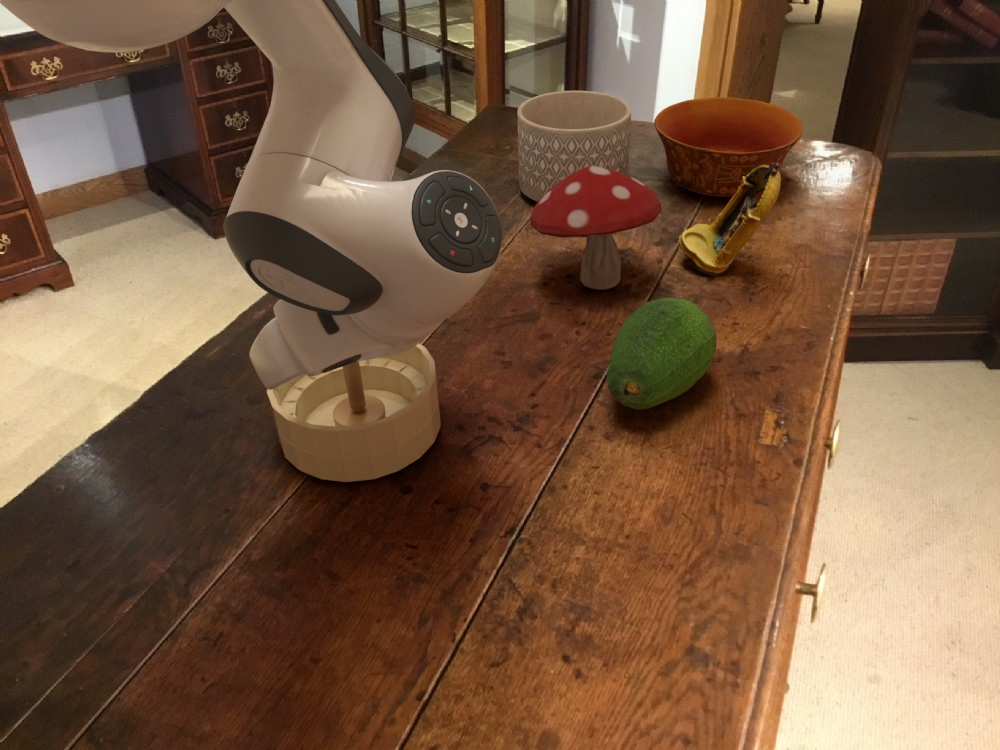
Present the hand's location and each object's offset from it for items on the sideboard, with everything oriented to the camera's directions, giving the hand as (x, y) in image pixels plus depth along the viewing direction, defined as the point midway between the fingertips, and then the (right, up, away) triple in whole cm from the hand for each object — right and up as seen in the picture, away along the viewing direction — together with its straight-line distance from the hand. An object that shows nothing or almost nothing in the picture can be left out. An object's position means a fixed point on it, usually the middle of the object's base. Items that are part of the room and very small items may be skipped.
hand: (343, 345), depth 81 cm
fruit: (+31, -5, +9) cm, 33 cm away
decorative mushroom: (+27, +9, +28) cm, 40 cm away
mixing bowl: (+1, -8, +6) cm, 10 cm away
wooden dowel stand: (+1, -8, +6) cm, 10 cm away
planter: (+26, +25, +49) cm, 61 cm away
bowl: (+49, +26, +49) cm, 74 cm away
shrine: (+44, +11, +30) cm, 54 cm away
